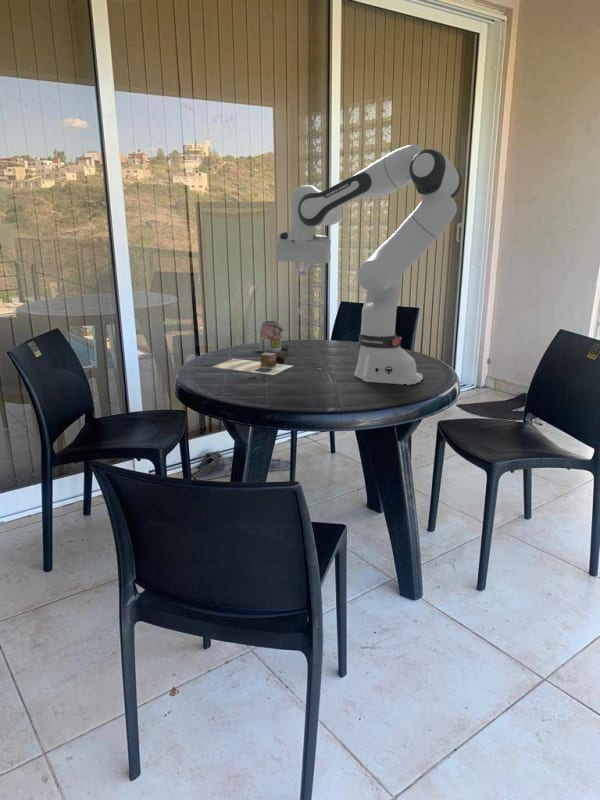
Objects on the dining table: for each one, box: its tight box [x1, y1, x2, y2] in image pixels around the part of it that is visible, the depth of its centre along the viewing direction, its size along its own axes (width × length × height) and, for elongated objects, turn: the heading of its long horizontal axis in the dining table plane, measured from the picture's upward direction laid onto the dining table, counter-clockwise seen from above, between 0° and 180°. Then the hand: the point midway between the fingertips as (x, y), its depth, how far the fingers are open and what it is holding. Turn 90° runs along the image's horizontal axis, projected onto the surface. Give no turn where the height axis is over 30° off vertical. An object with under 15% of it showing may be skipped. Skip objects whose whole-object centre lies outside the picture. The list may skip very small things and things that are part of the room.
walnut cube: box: [260, 352, 277, 367], centre depth 199 cm, size 4×4×4 cm
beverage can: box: [259, 320, 285, 354], centre depth 227 cm, size 9×8×12 cm
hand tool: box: [276, 345, 289, 364], centre depth 213 cm, size 19×4×5 cm, turn 170°
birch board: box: [211, 358, 294, 380], centre depth 198 cm, size 24×15×2 cm, turn 65°
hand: (302, 275), depth 206 cm, fingers closed
